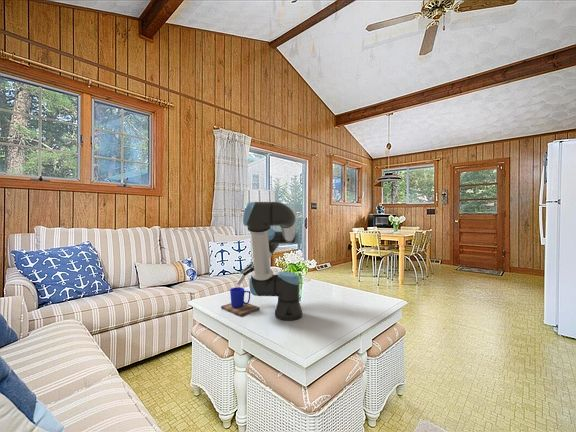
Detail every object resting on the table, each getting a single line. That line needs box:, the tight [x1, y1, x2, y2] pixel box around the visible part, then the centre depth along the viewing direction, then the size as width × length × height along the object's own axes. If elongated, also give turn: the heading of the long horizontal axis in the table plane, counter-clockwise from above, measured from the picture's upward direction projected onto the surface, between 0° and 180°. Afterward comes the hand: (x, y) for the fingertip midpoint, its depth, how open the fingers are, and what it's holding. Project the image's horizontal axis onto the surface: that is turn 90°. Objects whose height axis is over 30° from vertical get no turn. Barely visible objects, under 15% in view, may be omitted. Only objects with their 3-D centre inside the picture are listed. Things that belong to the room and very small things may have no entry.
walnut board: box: [220, 301, 260, 317], centre depth 162 cm, size 18×14×2 cm
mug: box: [229, 286, 251, 308], centre depth 162 cm, size 8×12×10 cm
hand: (245, 286), depth 165 cm, fingers open, 13 cm apart
